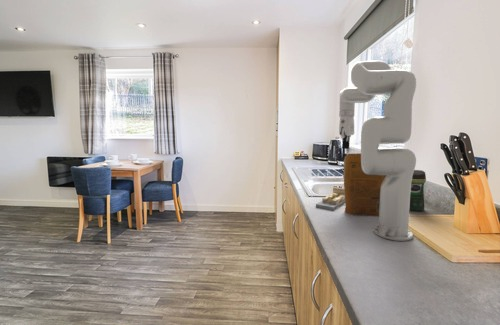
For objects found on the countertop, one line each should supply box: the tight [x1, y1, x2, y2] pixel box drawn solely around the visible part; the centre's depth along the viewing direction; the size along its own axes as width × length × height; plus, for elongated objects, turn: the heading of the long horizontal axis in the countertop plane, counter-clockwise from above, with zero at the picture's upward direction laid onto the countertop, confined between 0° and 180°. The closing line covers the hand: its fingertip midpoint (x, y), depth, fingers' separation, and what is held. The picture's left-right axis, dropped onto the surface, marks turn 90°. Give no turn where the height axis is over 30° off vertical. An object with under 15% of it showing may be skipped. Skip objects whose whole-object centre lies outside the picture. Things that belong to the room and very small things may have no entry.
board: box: [315, 192, 345, 211], centre depth 135 cm, size 20×9×5 cm, turn 140°
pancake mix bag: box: [342, 152, 387, 217], centre depth 117 cm, size 7×19×28 cm, turn 77°
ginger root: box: [321, 186, 345, 204], centre depth 136 cm, size 14×7×5 cm, turn 140°
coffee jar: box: [409, 169, 427, 212], centre depth 123 cm, size 10×8×19 cm
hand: (345, 148), depth 143 cm, fingers closed
